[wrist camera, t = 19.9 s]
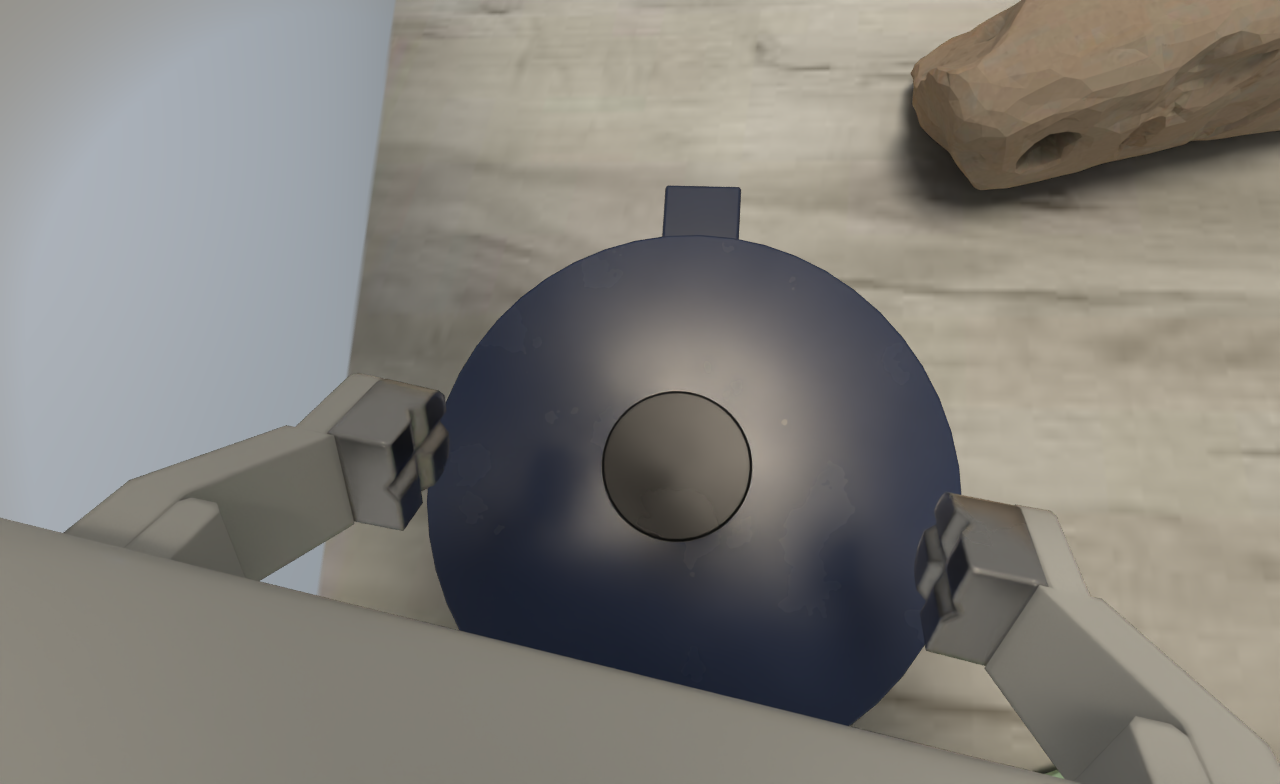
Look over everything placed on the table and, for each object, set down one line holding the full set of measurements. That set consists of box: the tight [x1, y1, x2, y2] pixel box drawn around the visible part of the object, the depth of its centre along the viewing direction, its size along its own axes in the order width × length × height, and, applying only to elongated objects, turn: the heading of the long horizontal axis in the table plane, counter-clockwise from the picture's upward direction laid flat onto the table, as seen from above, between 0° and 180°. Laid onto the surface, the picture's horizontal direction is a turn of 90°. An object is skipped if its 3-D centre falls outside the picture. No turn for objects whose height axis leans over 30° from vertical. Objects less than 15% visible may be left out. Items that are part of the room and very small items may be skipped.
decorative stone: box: [911, 0, 1280, 190], centre depth 26 cm, size 20×8×10 cm, turn 101°
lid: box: [427, 235, 961, 726], centre depth 16 cm, size 15×15×8 cm
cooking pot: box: [662, 186, 741, 239], centre depth 24 cm, size 14×19×10 cm
